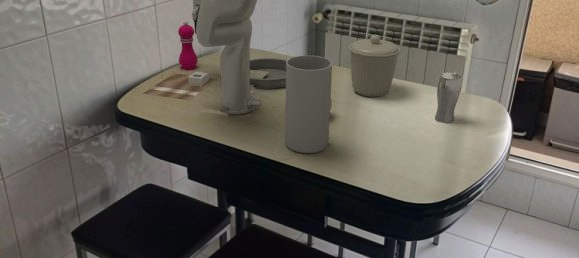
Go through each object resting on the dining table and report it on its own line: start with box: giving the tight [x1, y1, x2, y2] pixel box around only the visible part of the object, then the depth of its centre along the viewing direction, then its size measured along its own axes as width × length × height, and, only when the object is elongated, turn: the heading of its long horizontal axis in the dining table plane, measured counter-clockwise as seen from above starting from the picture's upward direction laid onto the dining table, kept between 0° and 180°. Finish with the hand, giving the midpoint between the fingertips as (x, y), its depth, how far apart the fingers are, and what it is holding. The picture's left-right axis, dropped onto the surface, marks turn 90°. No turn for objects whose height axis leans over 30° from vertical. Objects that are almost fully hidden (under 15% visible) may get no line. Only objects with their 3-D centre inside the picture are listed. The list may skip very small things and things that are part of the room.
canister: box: [348, 34, 402, 97], centre depth 191 cm, size 18×18×21 cm
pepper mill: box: [177, 20, 198, 71], centre depth 209 cm, size 7×7×20 cm
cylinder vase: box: [284, 55, 333, 154], centre depth 152 cm, size 12×12×25 cm
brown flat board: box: [142, 73, 218, 101], centre depth 194 cm, size 18×22×2 cm
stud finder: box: [188, 71, 210, 86], centre depth 196 cm, size 5×6×3 cm
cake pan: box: [250, 57, 288, 89], centre depth 206 cm, size 25×25×4 cm
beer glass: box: [434, 71, 463, 124], centre depth 171 cm, size 7×7×15 cm
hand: (205, 30), depth 197 cm, fingers open, 9 cm apart
